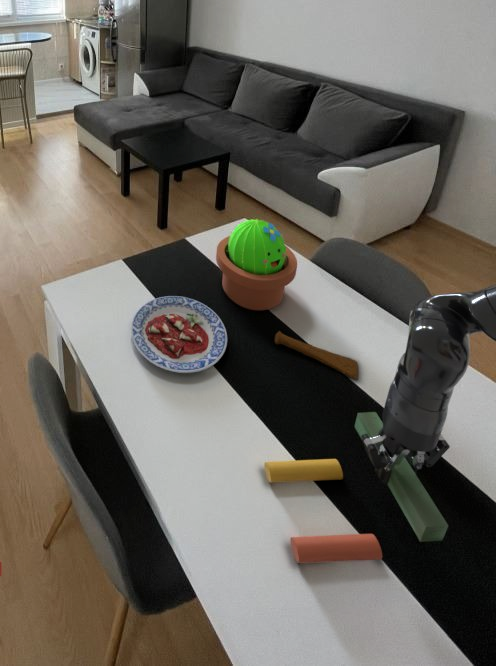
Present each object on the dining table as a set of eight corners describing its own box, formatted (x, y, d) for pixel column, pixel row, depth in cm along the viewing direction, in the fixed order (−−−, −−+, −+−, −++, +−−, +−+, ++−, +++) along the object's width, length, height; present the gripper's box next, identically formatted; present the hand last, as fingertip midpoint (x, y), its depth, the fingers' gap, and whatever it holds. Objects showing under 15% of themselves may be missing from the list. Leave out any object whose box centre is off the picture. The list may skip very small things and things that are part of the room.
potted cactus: (201, 278, 138) (204, 212, 129) (256, 259, 145) (263, 195, 136) (246, 327, 119) (254, 254, 110) (307, 303, 126) (319, 232, 116)
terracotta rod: (368, 539, 75) (372, 529, 74) (380, 563, 72) (384, 553, 71) (289, 543, 75) (291, 532, 74) (297, 567, 72) (300, 556, 71)
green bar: (372, 425, 84) (375, 411, 82) (442, 540, 67) (448, 525, 66) (354, 426, 84) (357, 412, 82) (420, 541, 67) (425, 526, 66)
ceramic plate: (163, 395, 102) (163, 386, 100) (115, 320, 124) (114, 312, 122) (247, 354, 111) (248, 345, 110) (188, 290, 133) (189, 283, 132)
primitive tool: (356, 362, 107) (359, 352, 106) (357, 380, 103) (360, 370, 101) (275, 336, 116) (276, 326, 114) (272, 352, 111) (274, 342, 110)
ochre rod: (332, 465, 86) (335, 455, 85) (341, 483, 83) (344, 472, 82) (263, 468, 86) (265, 458, 85) (269, 486, 83) (271, 476, 82)
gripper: (385, 436, 66) (366, 503, 72) (477, 431, 65) (450, 499, 72) (357, 390, 73) (342, 456, 79) (440, 386, 72) (418, 452, 79)
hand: (393, 476), depth 75 cm, fingers closed on green bar, 3 cm apart
